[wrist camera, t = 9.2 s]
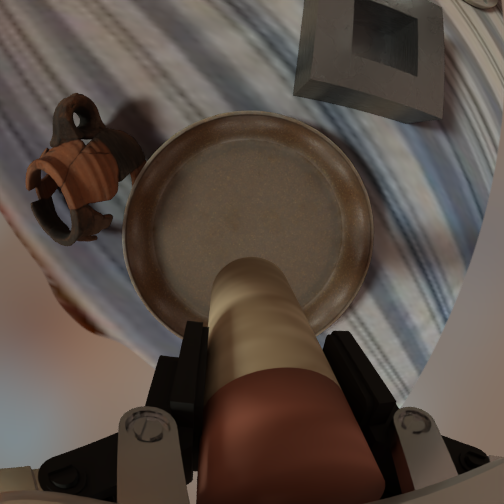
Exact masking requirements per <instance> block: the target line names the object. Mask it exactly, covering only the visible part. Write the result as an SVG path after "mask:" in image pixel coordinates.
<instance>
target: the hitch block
mask: <svg viewBox="0 0 504 504" xmlns="http://www.w3.org/2000/svg"><path fill="white" fill-rule="evenodd" d="M293 96H299V97H304V98H309V99H314V100H319V101H323V102H328V103H332V104H337V105H341V106H345V107H349V108H353V109H357V110H361V111H364V112H368V113H372V114H375V115H379V116H382V117H386V118H389V119H392V120H395V121H399V122H402V123H405V124H407V123H414V122H422V121H430V120H439V119H442V117H443V102H444V29H443V14H442V8H441V7H440V6H438V5H436V4H434V3H432V2H430V1H428V0H304V9H303V17H302V26H301V35H300V43H299V51H298V60H297V68H296V76H295V84H294V92H293Z"/></svg>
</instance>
